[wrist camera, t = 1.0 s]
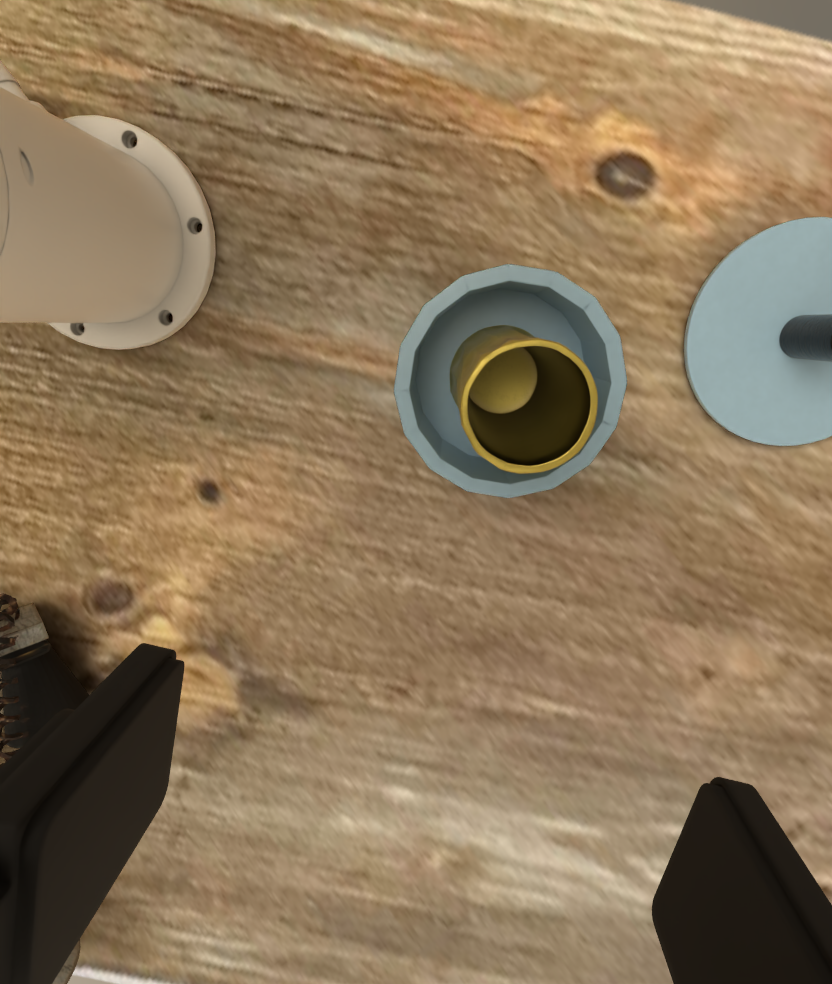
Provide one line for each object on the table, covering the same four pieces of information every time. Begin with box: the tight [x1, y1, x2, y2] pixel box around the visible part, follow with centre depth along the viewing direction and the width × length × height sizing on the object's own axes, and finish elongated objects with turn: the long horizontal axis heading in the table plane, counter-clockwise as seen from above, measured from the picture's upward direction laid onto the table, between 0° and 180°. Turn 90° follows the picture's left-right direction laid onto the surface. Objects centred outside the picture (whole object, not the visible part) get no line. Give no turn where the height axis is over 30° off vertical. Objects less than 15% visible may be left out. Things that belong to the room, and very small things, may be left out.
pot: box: [394, 264, 627, 498], centre depth 34 cm, size 12×12×6 cm
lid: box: [684, 217, 832, 446], centre depth 33 cm, size 13×13×6 cm
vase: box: [450, 325, 598, 474], centre depth 30 cm, size 6×6×14 cm
